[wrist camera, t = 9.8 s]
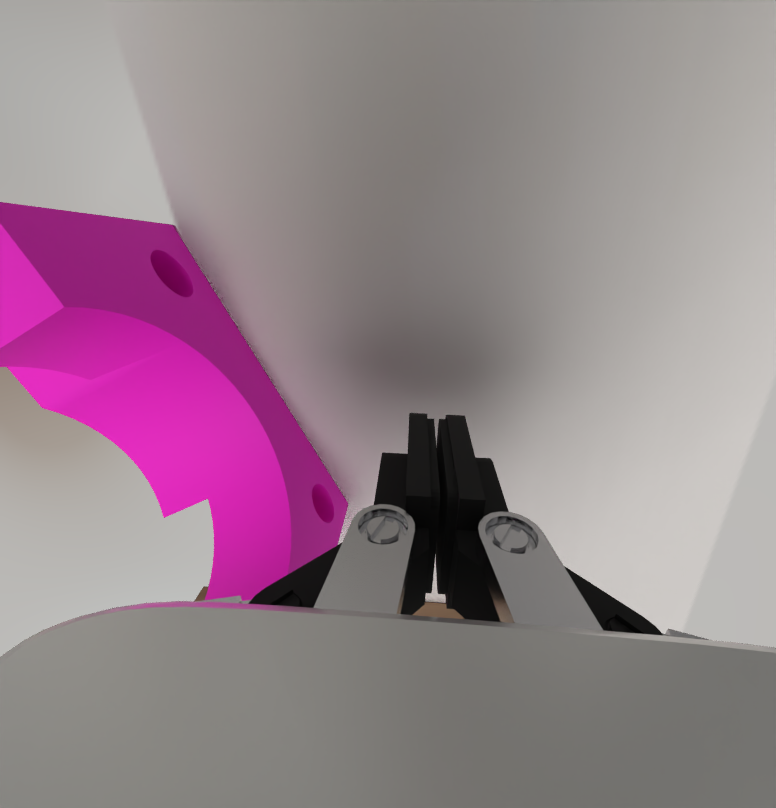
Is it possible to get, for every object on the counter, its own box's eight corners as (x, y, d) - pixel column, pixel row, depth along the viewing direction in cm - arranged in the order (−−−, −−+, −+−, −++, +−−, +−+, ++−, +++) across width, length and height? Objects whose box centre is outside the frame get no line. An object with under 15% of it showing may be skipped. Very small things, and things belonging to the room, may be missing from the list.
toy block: (68, 294, 17) (-173, 321, 10) (174, 225, 16) (-19, 199, 9) (253, 539, 21) (176, 675, 14) (348, 501, 20) (314, 632, 13)
